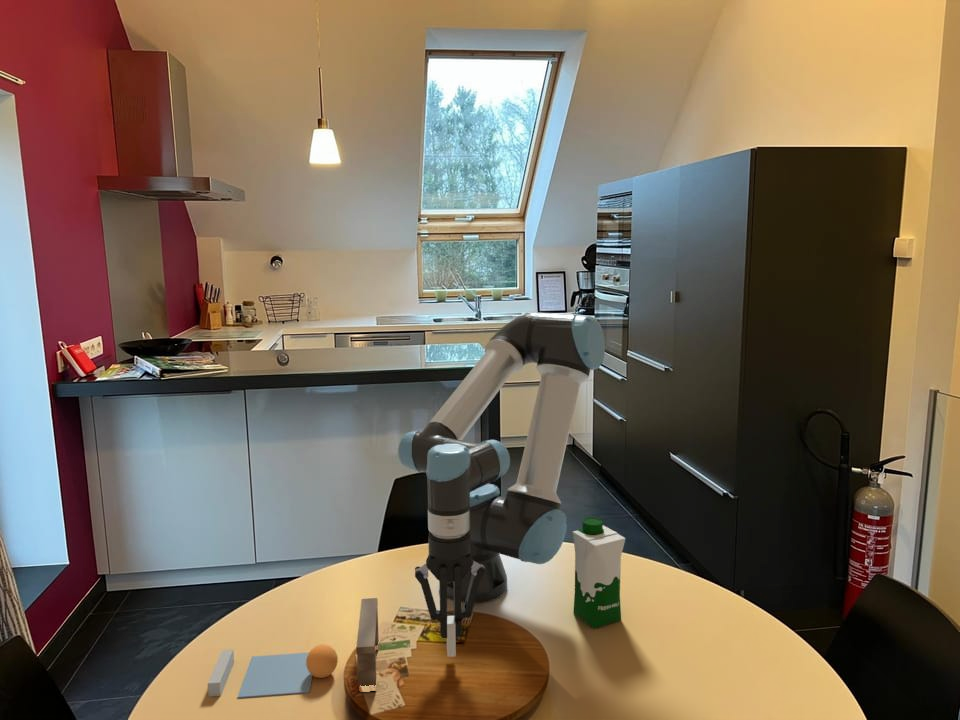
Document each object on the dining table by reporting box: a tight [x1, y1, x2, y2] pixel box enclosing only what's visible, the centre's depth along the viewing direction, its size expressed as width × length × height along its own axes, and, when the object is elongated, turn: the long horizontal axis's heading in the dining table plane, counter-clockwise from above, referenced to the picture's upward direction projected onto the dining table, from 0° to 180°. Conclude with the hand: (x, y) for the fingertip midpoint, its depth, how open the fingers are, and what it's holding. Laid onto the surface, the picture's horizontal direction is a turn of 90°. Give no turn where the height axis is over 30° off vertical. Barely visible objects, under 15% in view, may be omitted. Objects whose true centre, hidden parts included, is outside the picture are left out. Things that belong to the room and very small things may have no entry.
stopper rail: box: [207, 648, 235, 698], centre depth 125 cm, size 10×2×2 cm, turn 6°
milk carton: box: [572, 517, 626, 629], centre depth 143 cm, size 9×9×20 cm
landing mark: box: [237, 652, 314, 699], centre depth 127 cm, size 12×12×1 cm
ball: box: [306, 644, 339, 679], centre depth 126 cm, size 6×6×6 cm
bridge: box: [355, 597, 380, 686], centre depth 128 cm, size 3×16×9 cm, turn 6°
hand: (451, 652), depth 130 cm, fingers closed
